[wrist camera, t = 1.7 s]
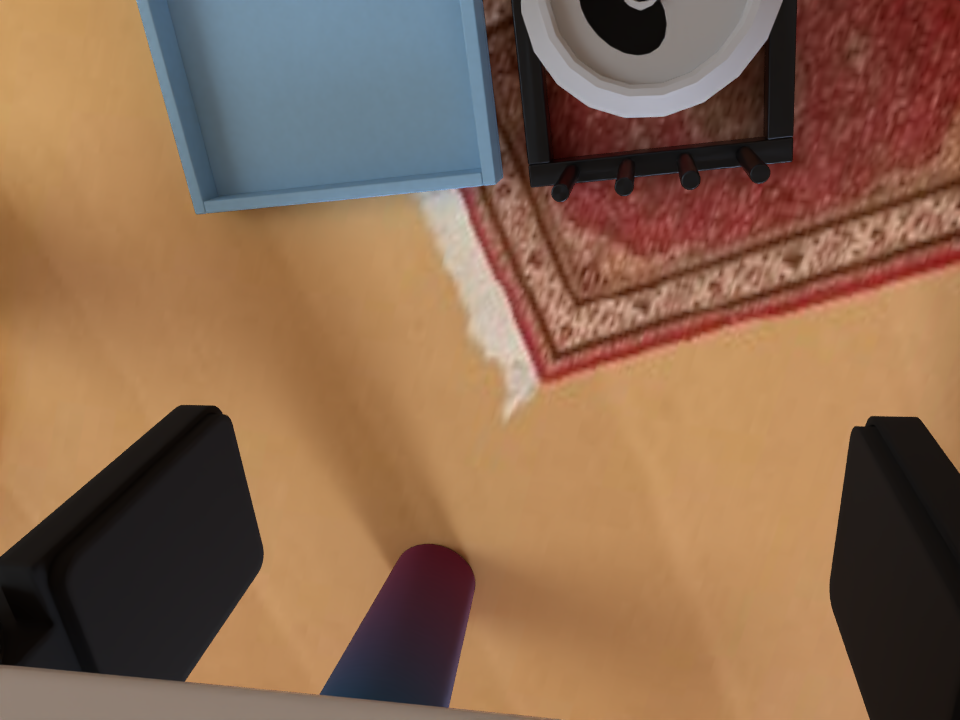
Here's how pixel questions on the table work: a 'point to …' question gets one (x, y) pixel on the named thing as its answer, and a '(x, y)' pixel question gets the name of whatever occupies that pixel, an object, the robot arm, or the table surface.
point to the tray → (324, 98)
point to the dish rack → (666, 159)
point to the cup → (410, 633)
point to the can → (646, 49)
